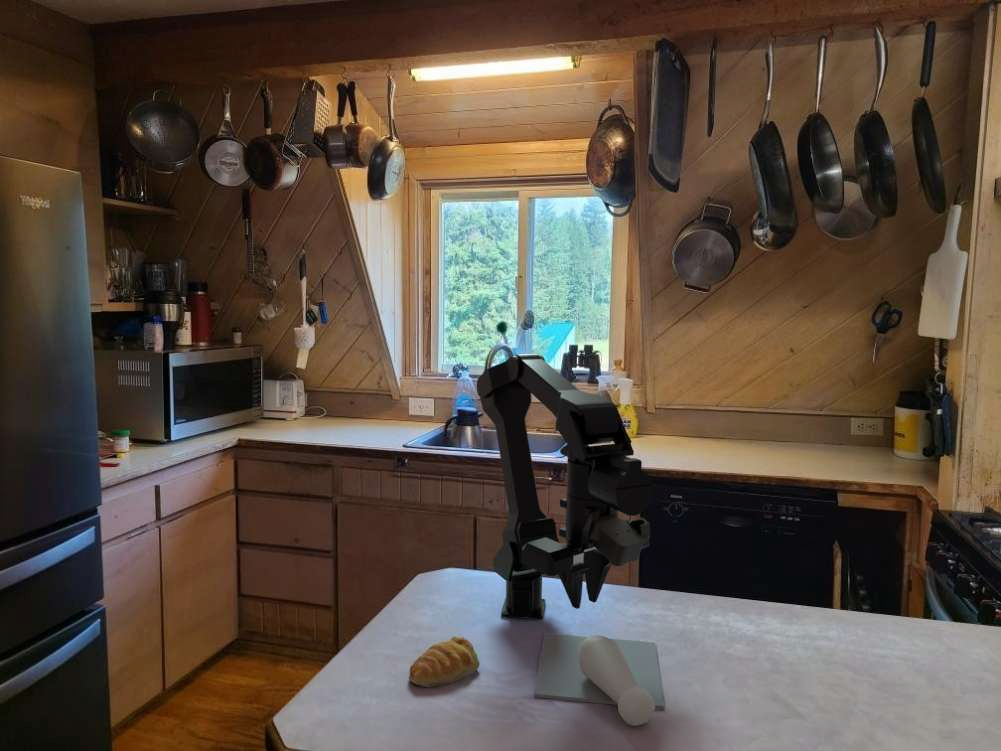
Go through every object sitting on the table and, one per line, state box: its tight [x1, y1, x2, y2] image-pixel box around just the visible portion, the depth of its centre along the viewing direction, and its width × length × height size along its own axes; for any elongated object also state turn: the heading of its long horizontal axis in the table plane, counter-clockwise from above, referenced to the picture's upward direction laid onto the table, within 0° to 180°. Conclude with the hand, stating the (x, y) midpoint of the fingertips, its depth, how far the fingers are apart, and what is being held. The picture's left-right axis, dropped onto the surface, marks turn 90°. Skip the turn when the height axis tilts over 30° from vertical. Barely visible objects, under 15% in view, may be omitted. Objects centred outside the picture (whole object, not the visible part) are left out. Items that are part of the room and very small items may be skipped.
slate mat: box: [533, 632, 665, 710], centre depth 96 cm, size 16×16×1 cm
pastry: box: [408, 636, 480, 688], centre depth 95 cm, size 9×7×4 cm
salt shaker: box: [578, 634, 656, 727], centre depth 89 cm, size 6×6×13 cm
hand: (584, 604), depth 98 cm, fingers open, 3 cm apart
